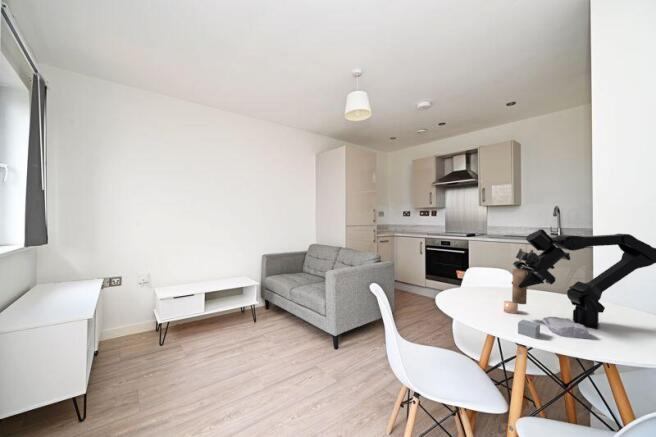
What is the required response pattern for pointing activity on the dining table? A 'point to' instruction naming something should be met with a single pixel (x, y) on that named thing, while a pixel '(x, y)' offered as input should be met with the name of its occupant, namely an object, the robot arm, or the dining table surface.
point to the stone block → (566, 327)
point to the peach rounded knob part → (510, 307)
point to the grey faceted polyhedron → (529, 328)
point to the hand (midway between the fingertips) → (515, 285)
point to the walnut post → (518, 293)
